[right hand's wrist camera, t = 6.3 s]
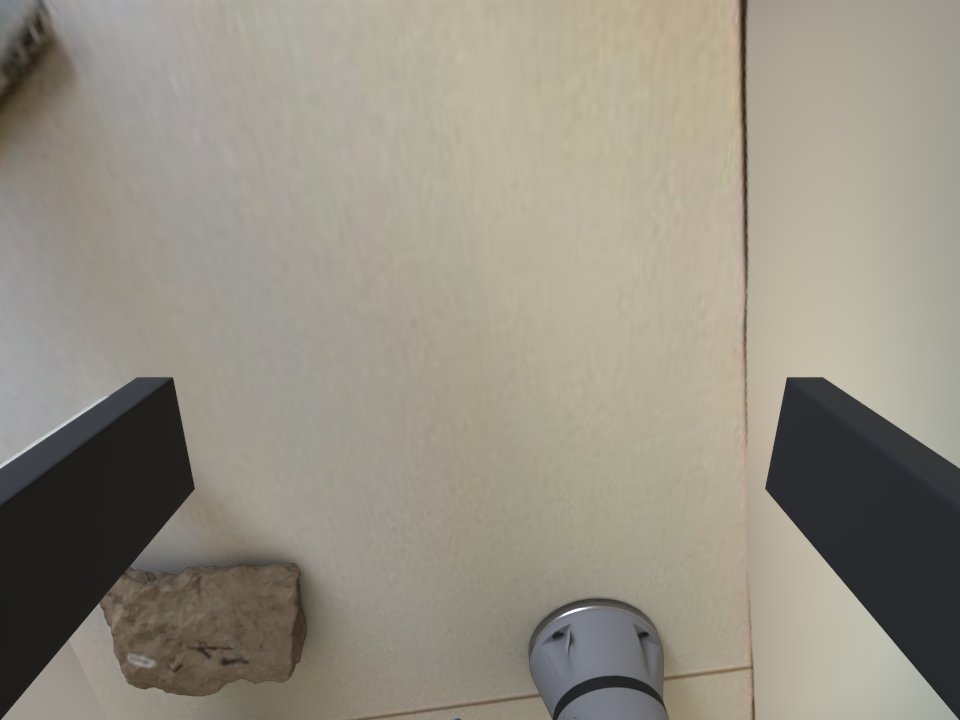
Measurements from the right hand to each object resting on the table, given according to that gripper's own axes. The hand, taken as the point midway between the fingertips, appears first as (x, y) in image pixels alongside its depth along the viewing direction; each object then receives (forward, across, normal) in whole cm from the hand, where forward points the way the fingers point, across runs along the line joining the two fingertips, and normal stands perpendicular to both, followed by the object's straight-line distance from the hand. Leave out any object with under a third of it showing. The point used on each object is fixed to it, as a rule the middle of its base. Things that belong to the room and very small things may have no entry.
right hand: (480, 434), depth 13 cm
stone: (+41, +30, +42) cm, 66 cm away
